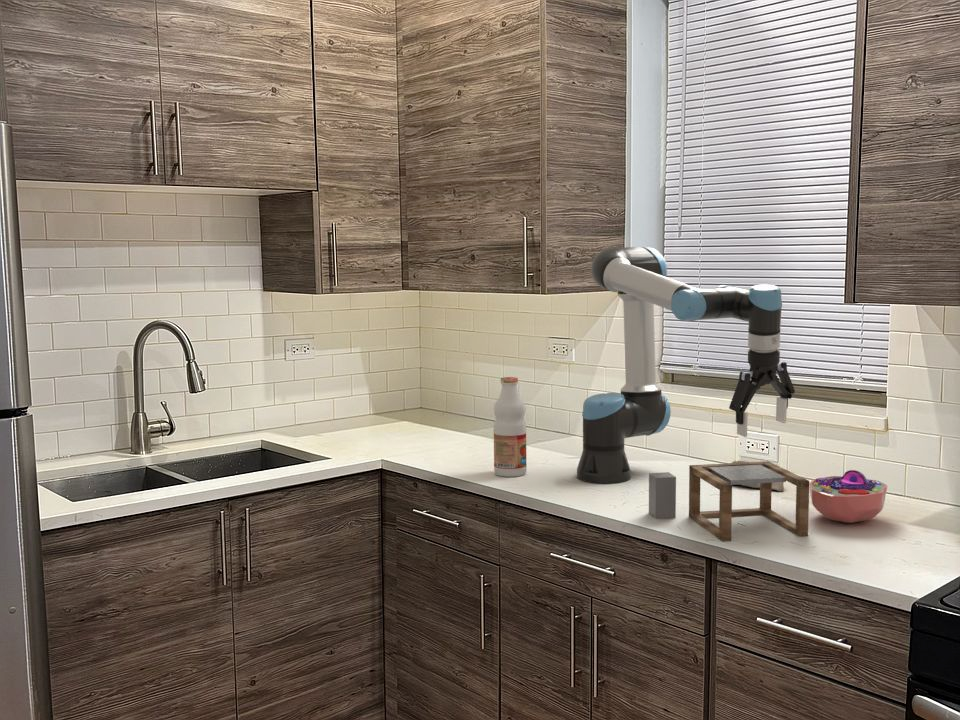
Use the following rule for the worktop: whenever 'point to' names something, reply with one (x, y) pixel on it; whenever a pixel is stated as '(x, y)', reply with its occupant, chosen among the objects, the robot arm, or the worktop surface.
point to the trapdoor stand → (726, 509)
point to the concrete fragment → (775, 485)
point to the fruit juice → (509, 431)
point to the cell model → (848, 497)
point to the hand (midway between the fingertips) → (761, 428)
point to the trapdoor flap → (746, 474)
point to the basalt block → (662, 495)
